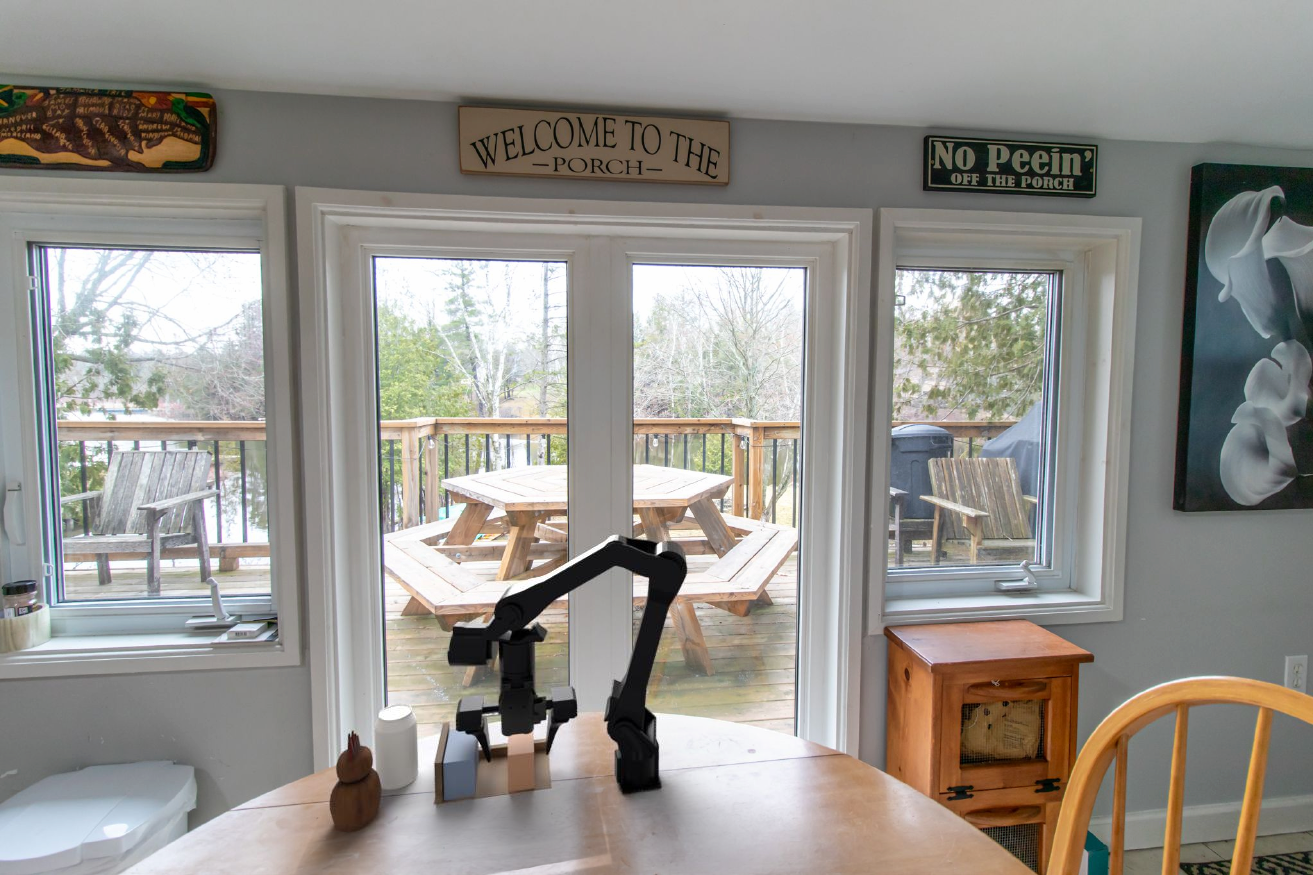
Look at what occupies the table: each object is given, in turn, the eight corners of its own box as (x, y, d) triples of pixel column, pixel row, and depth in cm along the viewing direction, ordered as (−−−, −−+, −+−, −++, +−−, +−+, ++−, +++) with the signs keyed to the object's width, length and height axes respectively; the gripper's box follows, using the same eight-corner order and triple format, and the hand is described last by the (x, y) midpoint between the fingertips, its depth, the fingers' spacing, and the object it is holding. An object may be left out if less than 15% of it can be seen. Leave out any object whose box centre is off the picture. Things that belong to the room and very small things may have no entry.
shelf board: (548, 751, 105) (547, 710, 105) (551, 793, 95) (551, 748, 94) (442, 765, 101) (441, 722, 101) (433, 810, 91) (432, 763, 90)
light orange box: (533, 753, 103) (532, 720, 102) (534, 788, 94) (534, 752, 94) (509, 756, 102) (508, 723, 102) (508, 792, 93) (507, 755, 93)
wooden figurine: (358, 844, 84) (354, 742, 83) (323, 837, 85) (318, 737, 84) (389, 810, 91) (386, 715, 89) (355, 805, 92) (352, 711, 90)
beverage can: (422, 768, 100) (420, 699, 99) (412, 793, 94) (410, 720, 93) (383, 771, 100) (381, 702, 98) (371, 797, 93) (368, 723, 92)
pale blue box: (478, 760, 101) (478, 726, 101) (475, 796, 92) (474, 759, 92) (450, 763, 100) (449, 729, 100) (444, 800, 91) (443, 763, 91)
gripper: (450, 697, 87) (453, 799, 88) (580, 683, 91) (581, 781, 92) (458, 662, 97) (460, 753, 99) (573, 651, 102) (574, 739, 103)
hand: (518, 757), depth 98 cm, fingers open, 9 cm apart
